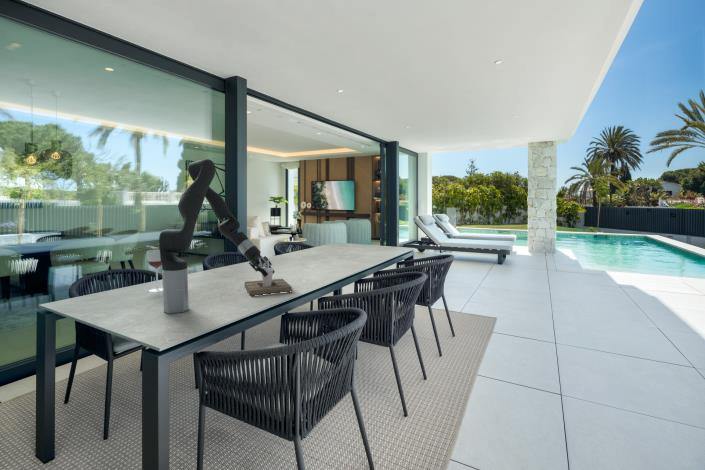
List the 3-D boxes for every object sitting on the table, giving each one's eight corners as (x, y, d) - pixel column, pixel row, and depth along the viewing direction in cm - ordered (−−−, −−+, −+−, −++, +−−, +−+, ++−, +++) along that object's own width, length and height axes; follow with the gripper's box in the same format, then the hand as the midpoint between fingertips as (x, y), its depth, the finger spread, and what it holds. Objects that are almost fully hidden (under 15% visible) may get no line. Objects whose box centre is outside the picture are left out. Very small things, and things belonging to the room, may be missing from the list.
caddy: (291, 292, 177) (291, 286, 176) (250, 296, 168) (250, 290, 168) (282, 284, 195) (282, 278, 195) (244, 287, 187) (244, 281, 186)
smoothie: (270, 289, 178) (270, 261, 176) (258, 288, 179) (258, 261, 178) (275, 286, 184) (275, 259, 183) (264, 285, 185) (263, 258, 184)
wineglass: (170, 288, 183) (168, 249, 181) (159, 292, 174) (157, 252, 172) (155, 287, 184) (154, 249, 182) (144, 291, 175) (142, 251, 173)
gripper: (245, 246, 175) (267, 272, 173) (261, 243, 188) (281, 267, 186) (236, 256, 177) (258, 282, 175) (252, 253, 190) (272, 276, 188)
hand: (270, 274), depth 180 cm, fingers closed on smoothie, 6 cm apart
